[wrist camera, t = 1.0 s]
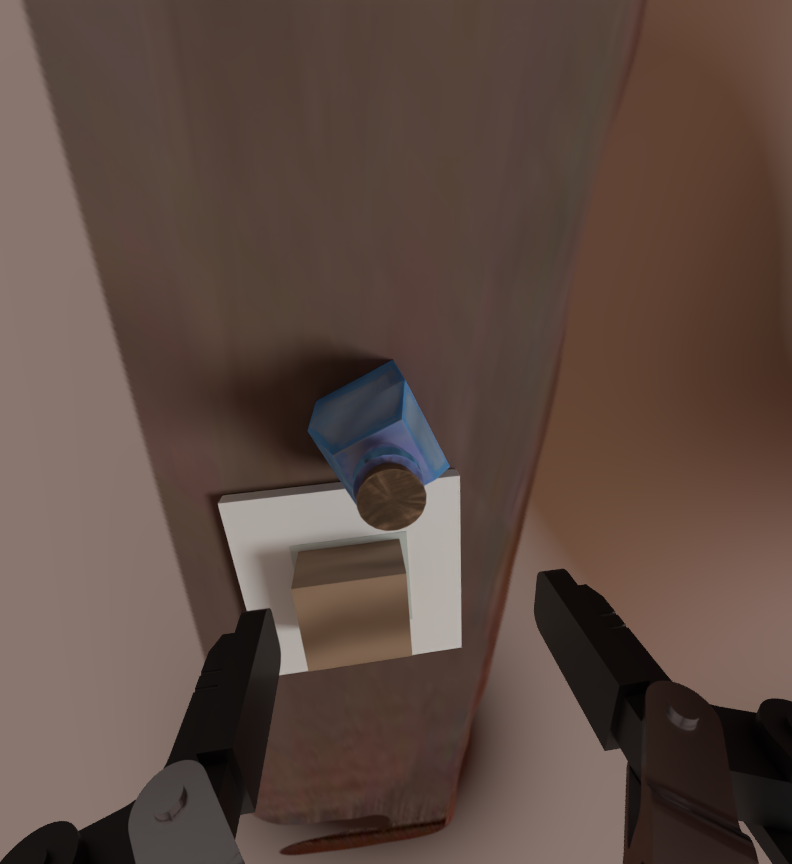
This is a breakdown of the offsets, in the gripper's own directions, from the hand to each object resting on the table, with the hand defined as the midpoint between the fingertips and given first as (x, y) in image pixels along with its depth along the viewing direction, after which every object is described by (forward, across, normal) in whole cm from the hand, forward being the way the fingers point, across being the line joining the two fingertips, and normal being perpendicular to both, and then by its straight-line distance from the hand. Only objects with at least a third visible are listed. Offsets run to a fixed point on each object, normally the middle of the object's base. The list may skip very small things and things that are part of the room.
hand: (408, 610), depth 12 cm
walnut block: (+17, +3, +14) cm, 22 cm away
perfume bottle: (+18, 0, 0) cm, 18 cm away
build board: (+18, +3, +14) cm, 23 cm away
